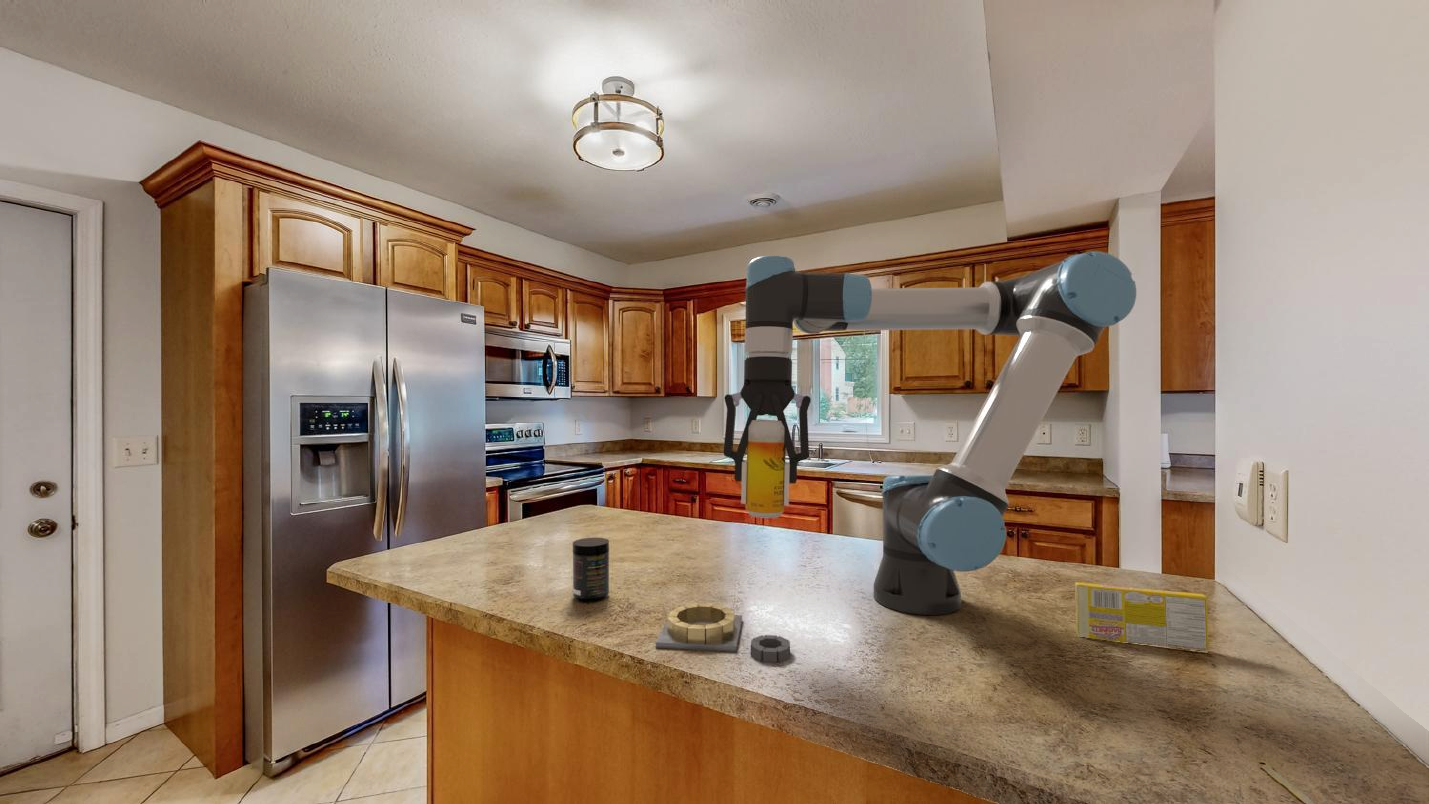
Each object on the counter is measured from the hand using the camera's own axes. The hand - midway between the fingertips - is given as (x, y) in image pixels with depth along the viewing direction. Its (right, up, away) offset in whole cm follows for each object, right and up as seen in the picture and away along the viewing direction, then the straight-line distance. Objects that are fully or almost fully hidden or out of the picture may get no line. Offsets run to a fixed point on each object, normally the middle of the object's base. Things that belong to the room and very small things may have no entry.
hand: (765, 502), depth 89 cm
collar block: (-10, -21, 0) cm, 23 cm away
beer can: (0, -2, 0) cm, 2 cm away
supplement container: (-31, -21, +17) cm, 41 cm away
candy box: (+56, -21, -4) cm, 60 cm away
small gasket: (0, -20, -7) cm, 22 cm away
